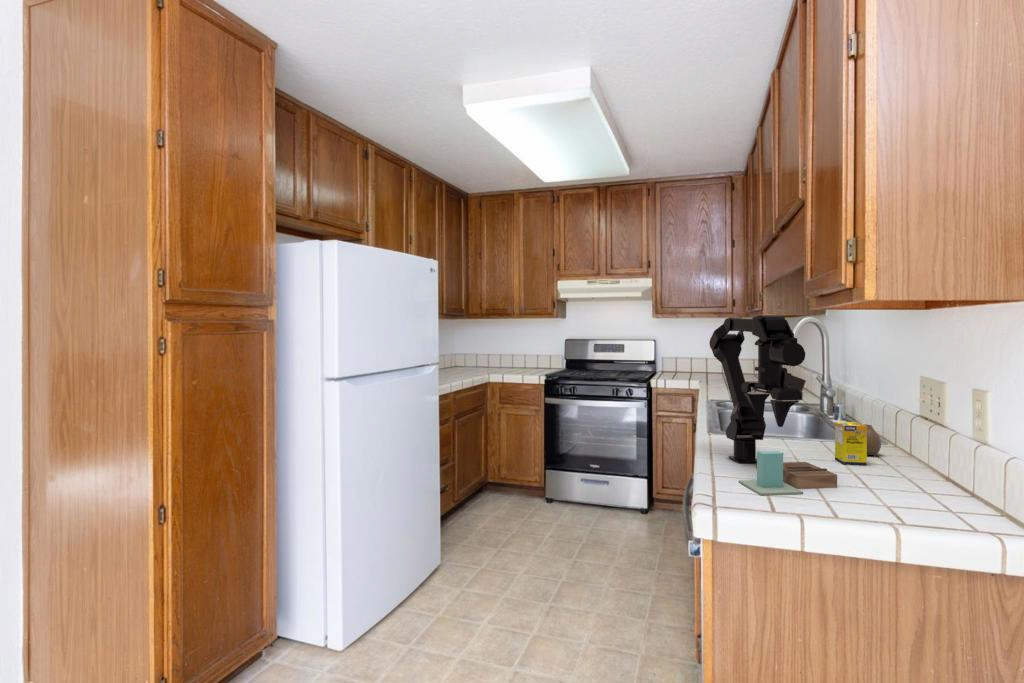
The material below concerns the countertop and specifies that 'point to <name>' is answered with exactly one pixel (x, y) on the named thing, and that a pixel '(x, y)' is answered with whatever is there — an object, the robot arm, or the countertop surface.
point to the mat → (770, 491)
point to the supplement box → (851, 443)
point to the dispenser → (807, 476)
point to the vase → (872, 441)
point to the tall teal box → (769, 469)
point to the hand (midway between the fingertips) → (770, 423)
